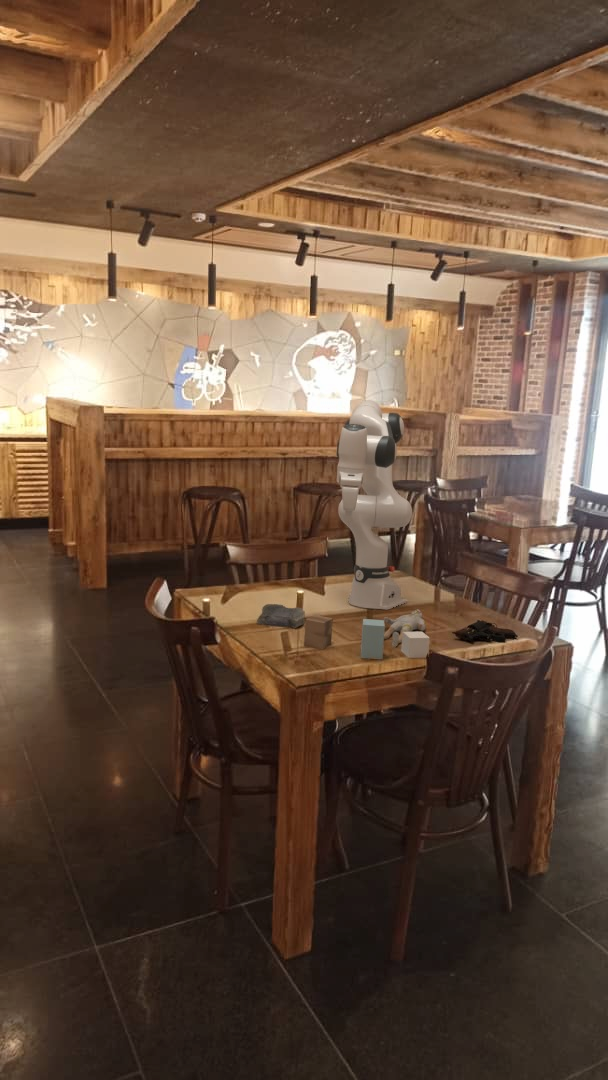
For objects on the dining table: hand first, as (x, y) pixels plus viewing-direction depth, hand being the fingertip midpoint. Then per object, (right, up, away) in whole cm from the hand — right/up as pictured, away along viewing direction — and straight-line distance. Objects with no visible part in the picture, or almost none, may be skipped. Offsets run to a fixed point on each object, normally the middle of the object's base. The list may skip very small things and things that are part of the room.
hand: (348, 521), depth 246 cm
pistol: (+44, -38, +1) cm, 58 cm away
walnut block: (-10, -37, -14) cm, 41 cm away
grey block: (+18, -39, -18) cm, 47 cm away
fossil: (-21, -33, +9) cm, 40 cm away
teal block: (+5, -39, -22) cm, 45 cm away
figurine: (+17, -36, +2) cm, 40 cm away
